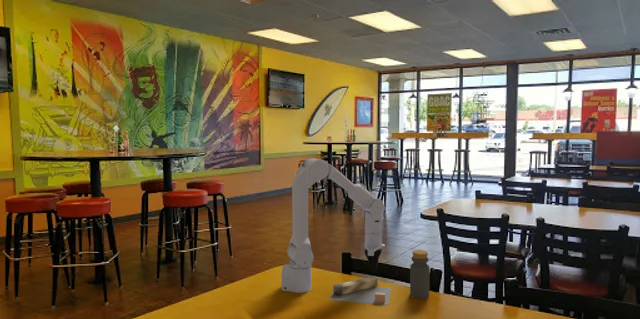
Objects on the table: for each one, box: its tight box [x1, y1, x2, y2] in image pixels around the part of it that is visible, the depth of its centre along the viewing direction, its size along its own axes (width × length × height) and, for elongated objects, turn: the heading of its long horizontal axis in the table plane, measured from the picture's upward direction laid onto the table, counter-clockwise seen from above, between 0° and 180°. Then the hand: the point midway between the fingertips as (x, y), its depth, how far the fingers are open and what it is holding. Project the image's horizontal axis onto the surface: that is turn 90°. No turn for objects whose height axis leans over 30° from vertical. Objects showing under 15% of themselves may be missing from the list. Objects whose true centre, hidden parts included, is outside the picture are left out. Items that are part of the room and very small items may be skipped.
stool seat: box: [328, 286, 392, 306], centre depth 138 cm, size 18×14×1 cm
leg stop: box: [375, 292, 385, 303], centre depth 132 cm, size 3×2×2 cm, turn 76°
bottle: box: [409, 249, 431, 300], centre depth 136 cm, size 6×6×15 cm
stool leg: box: [332, 275, 378, 295], centre depth 141 cm, size 16×3×2 cm, turn 121°
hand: (373, 270), depth 152 cm, fingers closed
